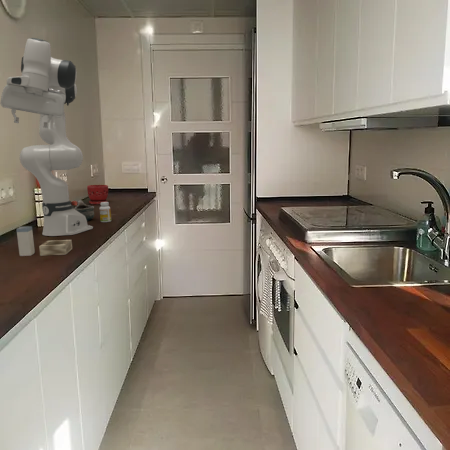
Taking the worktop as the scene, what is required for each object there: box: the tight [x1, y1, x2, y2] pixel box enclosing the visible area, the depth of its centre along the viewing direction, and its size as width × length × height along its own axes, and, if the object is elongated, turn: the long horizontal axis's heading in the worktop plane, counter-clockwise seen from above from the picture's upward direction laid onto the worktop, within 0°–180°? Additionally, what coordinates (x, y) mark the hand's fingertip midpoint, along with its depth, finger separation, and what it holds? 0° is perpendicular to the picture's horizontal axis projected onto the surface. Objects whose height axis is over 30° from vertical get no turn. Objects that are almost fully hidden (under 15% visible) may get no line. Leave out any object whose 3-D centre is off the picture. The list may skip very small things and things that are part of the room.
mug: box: [73, 199, 95, 222], centre depth 233 cm, size 10×12×10 cm
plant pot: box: [86, 184, 109, 205], centre depth 293 cm, size 13×13×12 cm
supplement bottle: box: [98, 201, 112, 223], centre depth 227 cm, size 5×5×10 cm
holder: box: [38, 239, 73, 257], centre depth 167 cm, size 9×9×4 cm
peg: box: [15, 225, 36, 257], centre depth 164 cm, size 4×4×10 cm
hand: (31, 125), depth 156 cm, fingers open, 8 cm apart
